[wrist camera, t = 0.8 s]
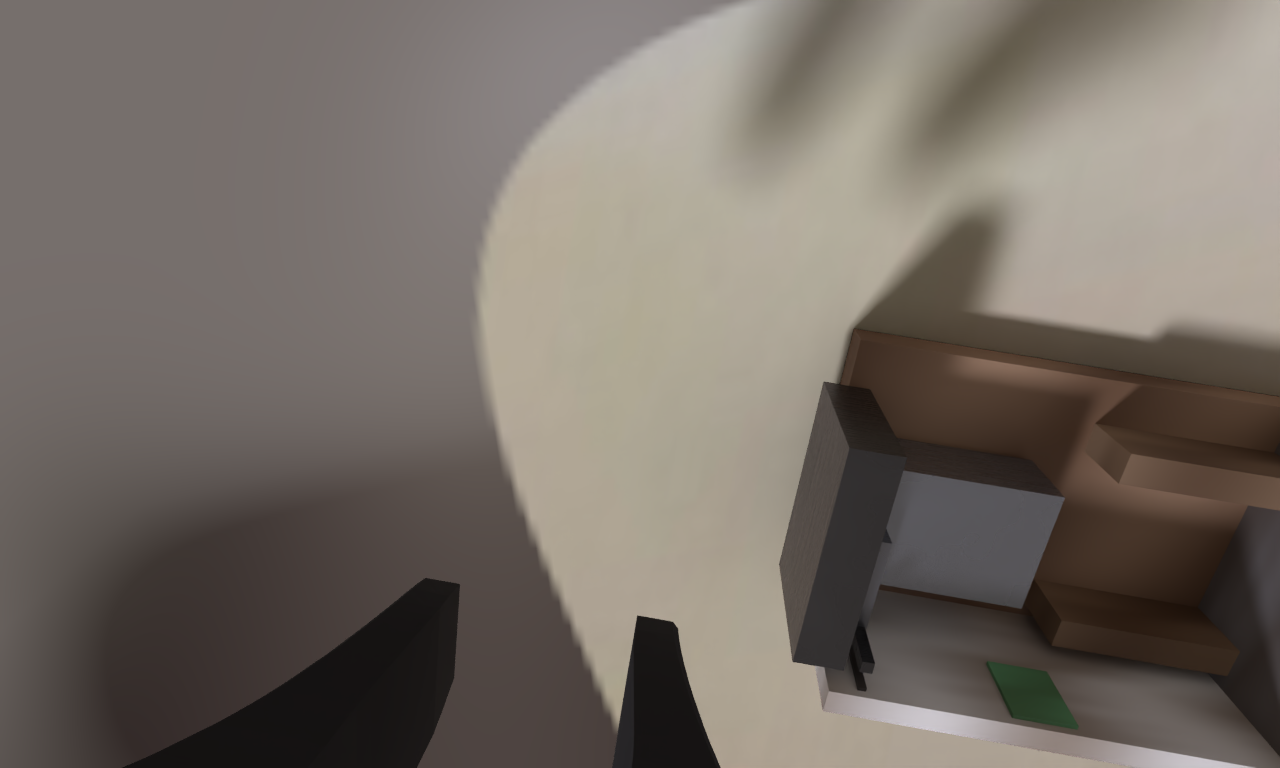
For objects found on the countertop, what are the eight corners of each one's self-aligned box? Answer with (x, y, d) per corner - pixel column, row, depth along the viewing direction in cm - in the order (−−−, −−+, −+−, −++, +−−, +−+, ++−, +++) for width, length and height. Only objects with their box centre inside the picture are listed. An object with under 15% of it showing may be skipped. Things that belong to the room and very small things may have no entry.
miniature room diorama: (1295, 399, 20) (1528, 517, 14) (1174, 645, 22) (1327, 825, 17) (853, 328, 20) (907, 415, 14) (790, 578, 23) (815, 732, 17)
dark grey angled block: (1047, 417, 19) (1127, 494, 15) (980, 599, 21) (1037, 705, 17) (823, 381, 19) (849, 448, 16) (779, 564, 21) (792, 661, 18)
